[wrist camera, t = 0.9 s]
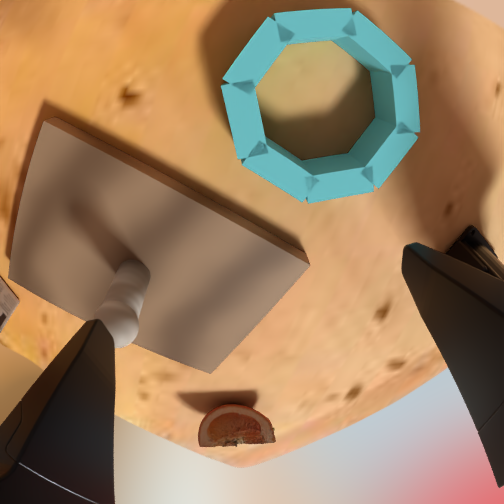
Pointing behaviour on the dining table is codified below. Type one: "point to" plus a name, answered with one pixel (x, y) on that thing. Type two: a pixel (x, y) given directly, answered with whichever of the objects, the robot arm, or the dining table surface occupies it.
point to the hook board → (143, 251)
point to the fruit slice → (234, 427)
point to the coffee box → (6, 303)
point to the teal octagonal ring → (371, 141)
